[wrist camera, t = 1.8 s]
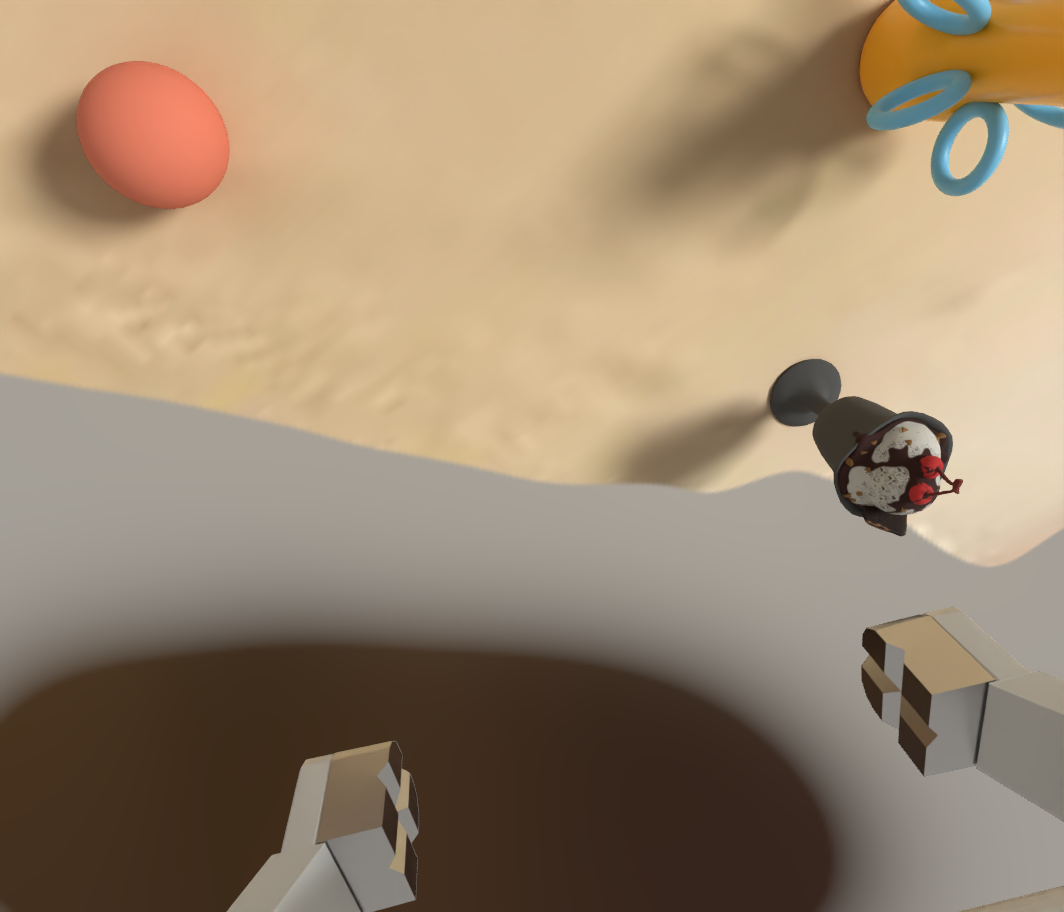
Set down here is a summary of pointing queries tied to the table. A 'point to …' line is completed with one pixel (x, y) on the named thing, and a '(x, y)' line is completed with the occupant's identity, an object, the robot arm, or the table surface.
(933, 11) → the cylinder
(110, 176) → the ball
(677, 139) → the table surface
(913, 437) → the sundae
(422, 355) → the table surface
